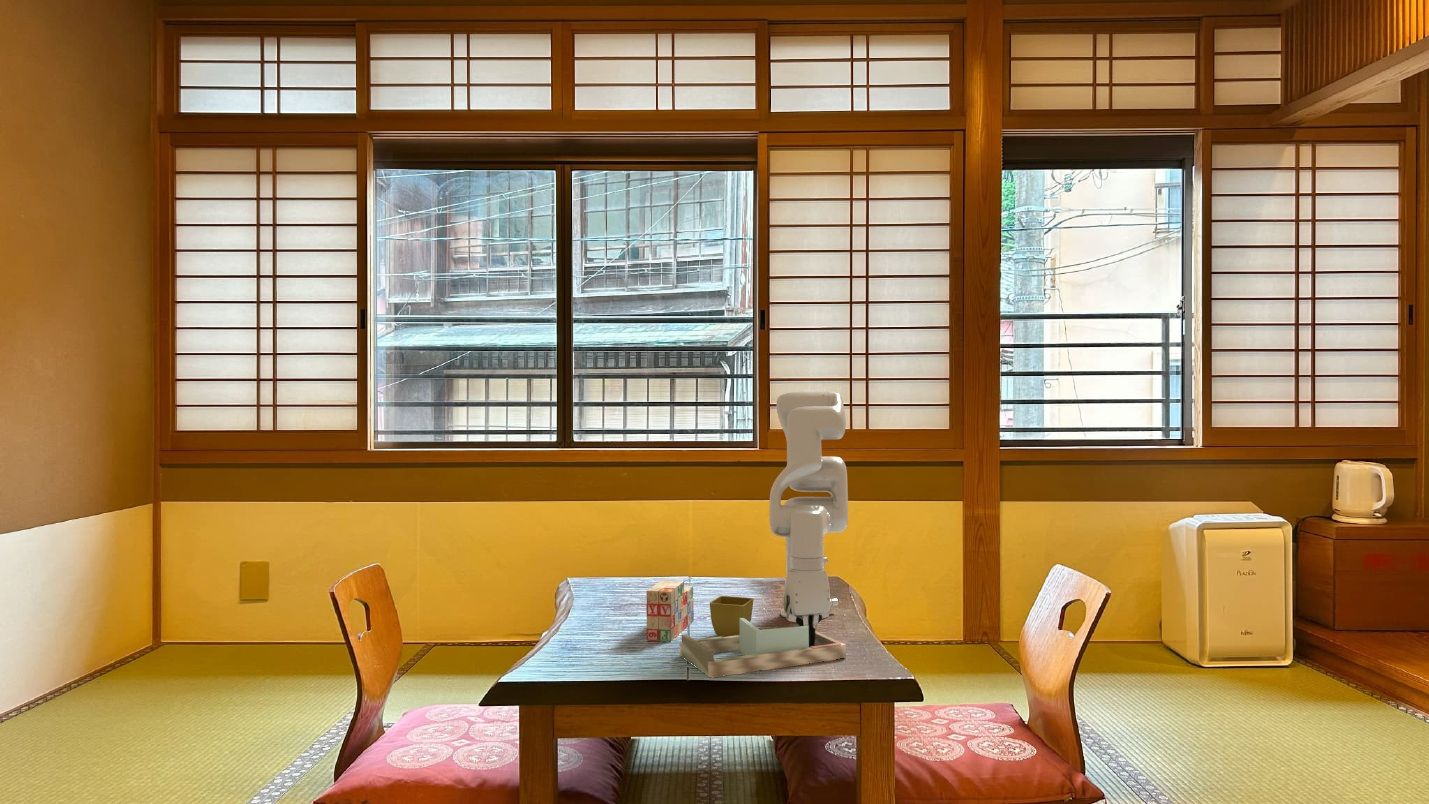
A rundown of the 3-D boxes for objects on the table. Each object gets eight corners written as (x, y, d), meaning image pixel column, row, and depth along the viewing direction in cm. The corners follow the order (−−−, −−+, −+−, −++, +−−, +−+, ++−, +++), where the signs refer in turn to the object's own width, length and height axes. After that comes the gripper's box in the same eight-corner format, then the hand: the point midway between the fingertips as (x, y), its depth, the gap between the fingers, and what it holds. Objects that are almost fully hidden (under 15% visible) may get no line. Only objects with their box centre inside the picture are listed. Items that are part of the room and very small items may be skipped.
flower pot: (754, 634, 203) (754, 597, 203) (744, 643, 195) (743, 605, 195) (720, 631, 206) (720, 595, 206) (708, 640, 197) (708, 602, 198)
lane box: (806, 639, 198) (805, 618, 198) (846, 658, 182) (845, 635, 182) (679, 655, 185) (679, 633, 185) (710, 678, 169) (710, 653, 169)
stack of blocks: (671, 620, 219) (670, 573, 219) (694, 621, 217) (693, 574, 217) (646, 641, 198) (645, 589, 198) (671, 642, 196) (671, 590, 197)
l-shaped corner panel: (809, 661, 180) (808, 626, 180) (756, 666, 176) (756, 631, 177) (789, 647, 191) (789, 614, 191) (739, 651, 188) (739, 618, 188)
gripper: (826, 559, 195) (827, 637, 194) (770, 564, 189) (771, 645, 188) (844, 564, 188) (845, 645, 188) (786, 569, 182) (787, 653, 182)
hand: (808, 644), depth 188 cm, fingers closed
